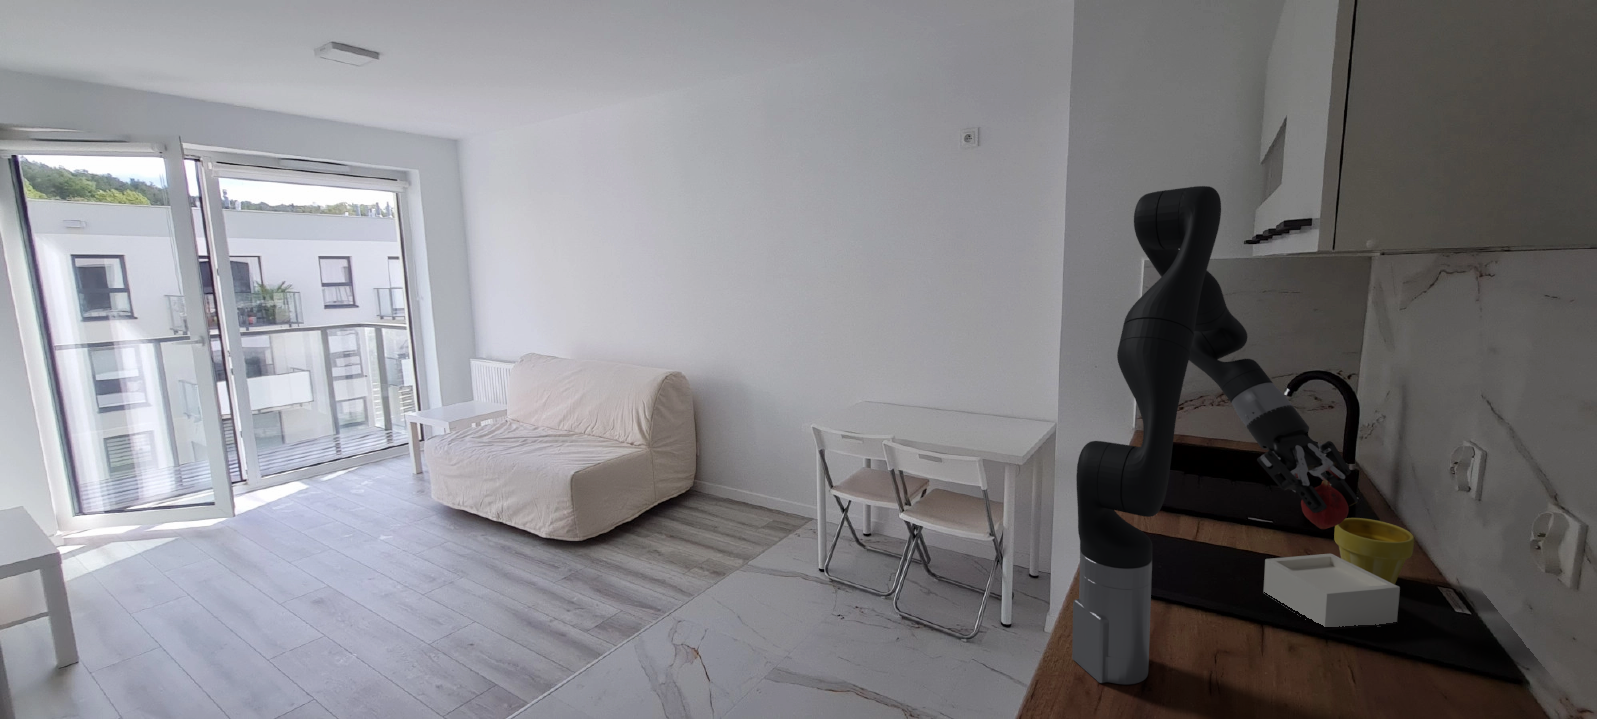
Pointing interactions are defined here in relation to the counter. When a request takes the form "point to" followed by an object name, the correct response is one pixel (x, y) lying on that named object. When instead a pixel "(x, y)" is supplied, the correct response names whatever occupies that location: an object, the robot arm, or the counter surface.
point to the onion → (1334, 510)
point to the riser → (1331, 590)
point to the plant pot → (1374, 546)
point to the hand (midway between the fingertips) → (1336, 507)
